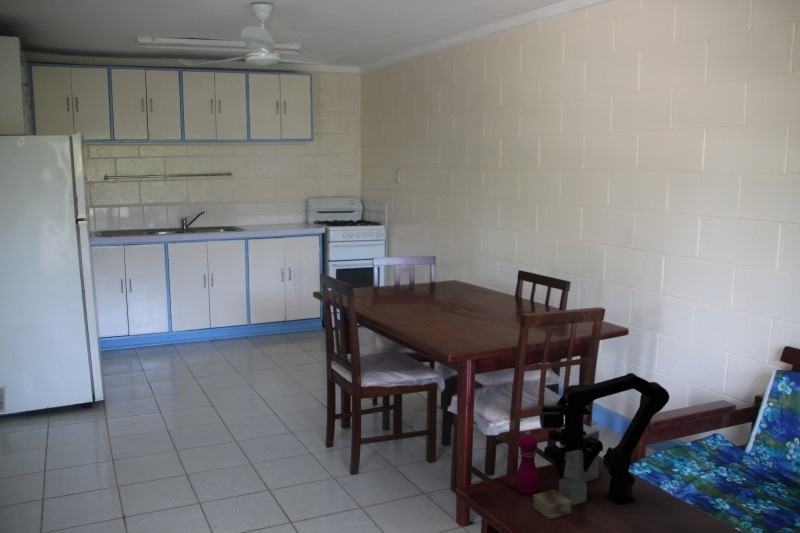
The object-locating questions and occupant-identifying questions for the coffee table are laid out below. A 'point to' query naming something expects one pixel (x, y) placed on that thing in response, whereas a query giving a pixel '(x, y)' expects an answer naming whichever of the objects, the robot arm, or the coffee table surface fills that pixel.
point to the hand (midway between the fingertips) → (573, 474)
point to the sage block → (573, 489)
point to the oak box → (552, 504)
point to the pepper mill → (527, 464)
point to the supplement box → (576, 460)
